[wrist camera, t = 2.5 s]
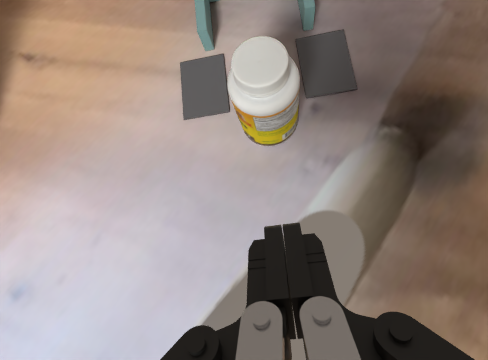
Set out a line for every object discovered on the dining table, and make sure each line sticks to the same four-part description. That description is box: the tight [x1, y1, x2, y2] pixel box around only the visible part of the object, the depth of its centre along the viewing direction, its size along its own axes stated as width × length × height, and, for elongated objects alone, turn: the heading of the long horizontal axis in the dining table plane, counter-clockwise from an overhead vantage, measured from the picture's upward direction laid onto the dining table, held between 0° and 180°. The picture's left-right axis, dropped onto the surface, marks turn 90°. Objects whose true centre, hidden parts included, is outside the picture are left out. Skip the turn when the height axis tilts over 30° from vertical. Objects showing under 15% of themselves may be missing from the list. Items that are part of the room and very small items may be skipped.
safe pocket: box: [195, 0, 315, 51], centre depth 31 cm, size 12×8×3 cm, turn 96°
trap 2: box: [180, 54, 230, 120], centre depth 31 cm, size 5×7×1 cm
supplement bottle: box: [227, 36, 300, 147], centre depth 24 cm, size 6×6×10 cm
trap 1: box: [296, 29, 357, 98], centre depth 29 cm, size 5×7×1 cm
